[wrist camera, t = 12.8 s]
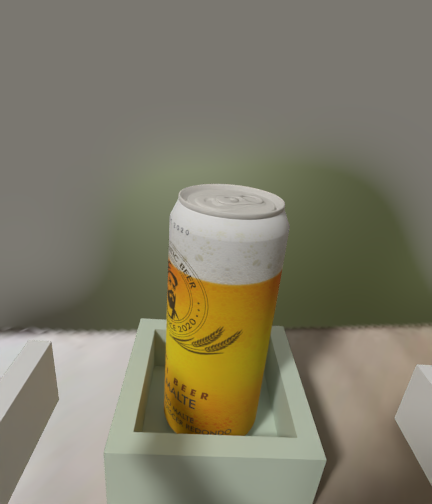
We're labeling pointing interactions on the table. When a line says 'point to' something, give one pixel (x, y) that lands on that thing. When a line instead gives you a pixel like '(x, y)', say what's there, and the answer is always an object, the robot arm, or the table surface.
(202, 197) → the beer can
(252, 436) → the socket
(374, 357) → the table surface
